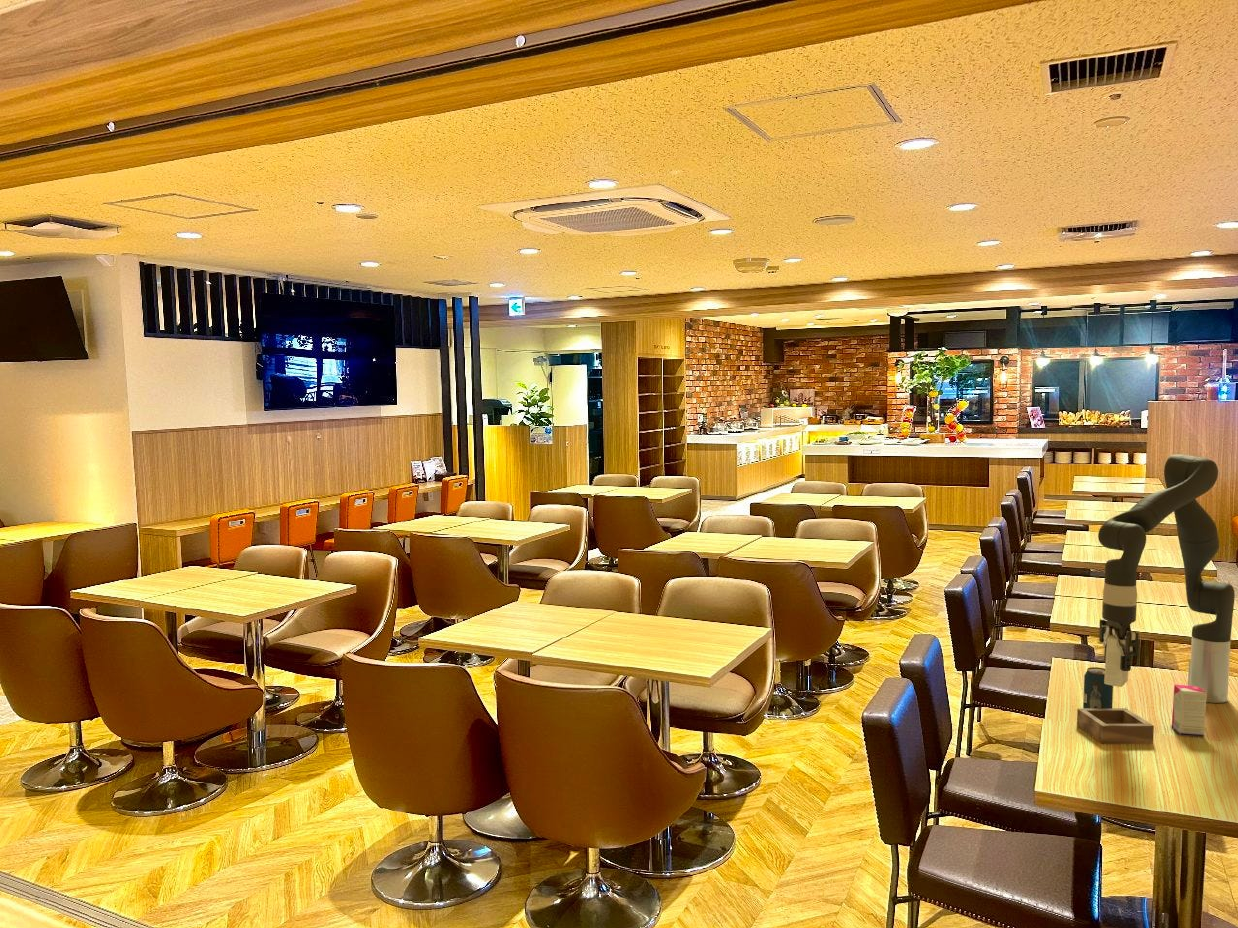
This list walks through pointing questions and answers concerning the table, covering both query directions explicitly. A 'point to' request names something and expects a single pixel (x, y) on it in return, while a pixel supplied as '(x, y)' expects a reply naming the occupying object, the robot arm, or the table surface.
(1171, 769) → the table surface
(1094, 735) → the brown wooden square frame
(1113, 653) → the skincare box
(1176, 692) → the supplement box
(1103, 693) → the soda can
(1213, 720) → the table surface
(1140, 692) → the table surface
